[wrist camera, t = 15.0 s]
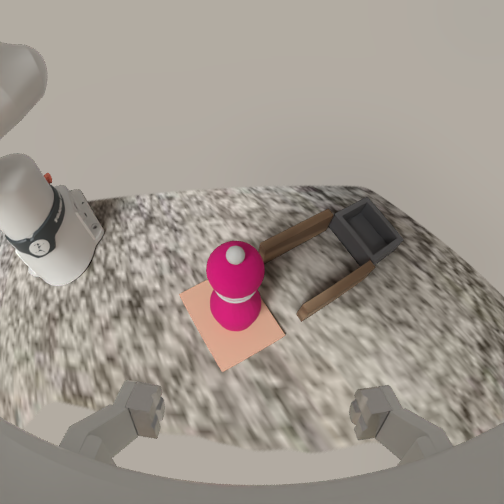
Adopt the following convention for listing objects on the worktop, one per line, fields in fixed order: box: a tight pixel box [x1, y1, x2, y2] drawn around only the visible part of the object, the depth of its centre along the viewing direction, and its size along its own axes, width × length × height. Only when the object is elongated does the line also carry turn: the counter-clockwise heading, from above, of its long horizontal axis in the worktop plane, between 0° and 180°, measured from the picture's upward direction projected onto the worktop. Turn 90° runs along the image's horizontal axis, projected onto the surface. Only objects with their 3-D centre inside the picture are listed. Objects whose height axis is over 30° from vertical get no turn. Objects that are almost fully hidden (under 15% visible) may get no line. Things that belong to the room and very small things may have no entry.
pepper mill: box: [206, 241, 265, 331], centre depth 35 cm, size 7×7×20 cm
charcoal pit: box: [329, 197, 403, 267], centre depth 50 cm, size 11×9×4 cm
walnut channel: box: [259, 209, 375, 322], centre depth 46 cm, size 13×14×5 cm
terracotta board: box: [179, 280, 285, 372], centre depth 44 cm, size 14×11×1 cm
